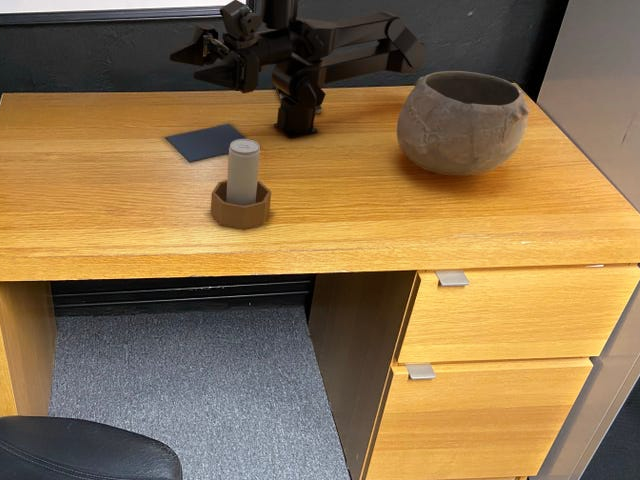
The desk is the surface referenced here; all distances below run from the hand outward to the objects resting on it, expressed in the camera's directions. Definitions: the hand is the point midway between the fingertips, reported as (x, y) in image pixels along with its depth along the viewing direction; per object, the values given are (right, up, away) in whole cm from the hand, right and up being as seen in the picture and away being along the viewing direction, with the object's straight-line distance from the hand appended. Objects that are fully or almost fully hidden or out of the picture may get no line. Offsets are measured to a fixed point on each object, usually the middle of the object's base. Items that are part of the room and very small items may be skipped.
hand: (181, 66), depth 118 cm
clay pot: (+49, -15, +8) cm, 52 cm away
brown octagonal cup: (+10, -26, -3) cm, 28 cm away
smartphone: (+25, +5, +30) cm, 39 cm away
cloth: (+6, -8, +15) cm, 18 cm away
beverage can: (+10, -26, -3) cm, 28 cm away
